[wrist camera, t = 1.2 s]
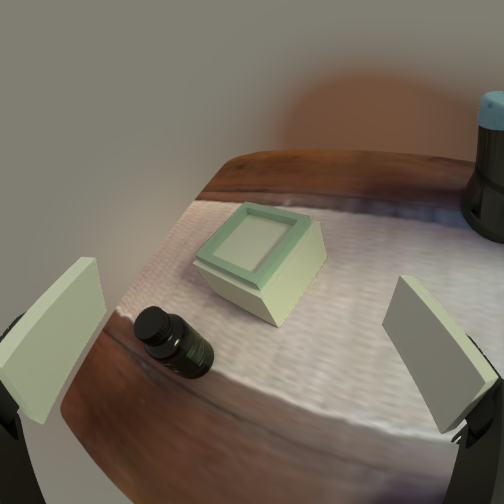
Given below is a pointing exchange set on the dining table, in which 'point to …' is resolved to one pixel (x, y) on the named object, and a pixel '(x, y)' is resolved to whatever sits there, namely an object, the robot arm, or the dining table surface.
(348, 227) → the dining table surface
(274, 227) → the riser
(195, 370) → the supplement bottle
